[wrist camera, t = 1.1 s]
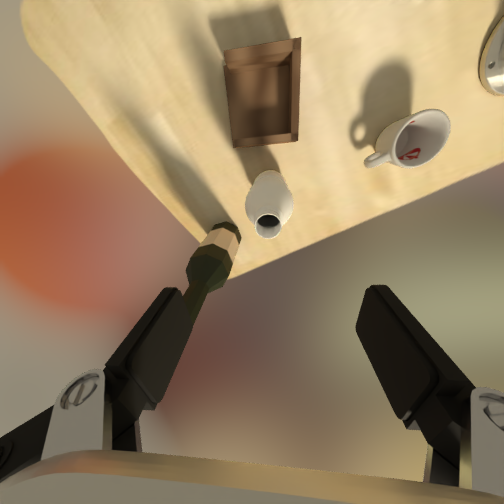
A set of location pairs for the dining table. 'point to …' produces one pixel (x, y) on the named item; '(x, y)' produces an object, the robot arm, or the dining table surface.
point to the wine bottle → (210, 265)
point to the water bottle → (269, 203)
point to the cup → (411, 140)
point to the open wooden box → (264, 92)
